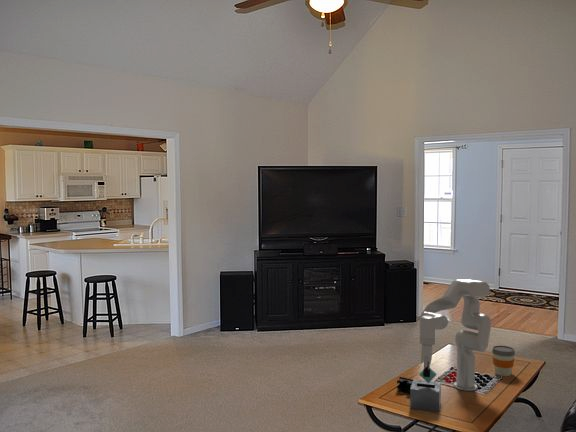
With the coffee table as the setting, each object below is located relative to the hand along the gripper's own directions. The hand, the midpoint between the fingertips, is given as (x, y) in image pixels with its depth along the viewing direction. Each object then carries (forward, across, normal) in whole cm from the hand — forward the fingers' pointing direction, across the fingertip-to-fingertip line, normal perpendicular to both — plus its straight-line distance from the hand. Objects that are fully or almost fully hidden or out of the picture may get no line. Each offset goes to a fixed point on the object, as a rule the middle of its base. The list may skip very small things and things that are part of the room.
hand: (426, 375), depth 270 cm
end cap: (+16, -16, -11) cm, 25 cm away
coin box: (+15, 0, 0) cm, 15 cm away
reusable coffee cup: (+15, -62, +40) cm, 75 cm away
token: (+1, 0, +3) cm, 3 cm away
